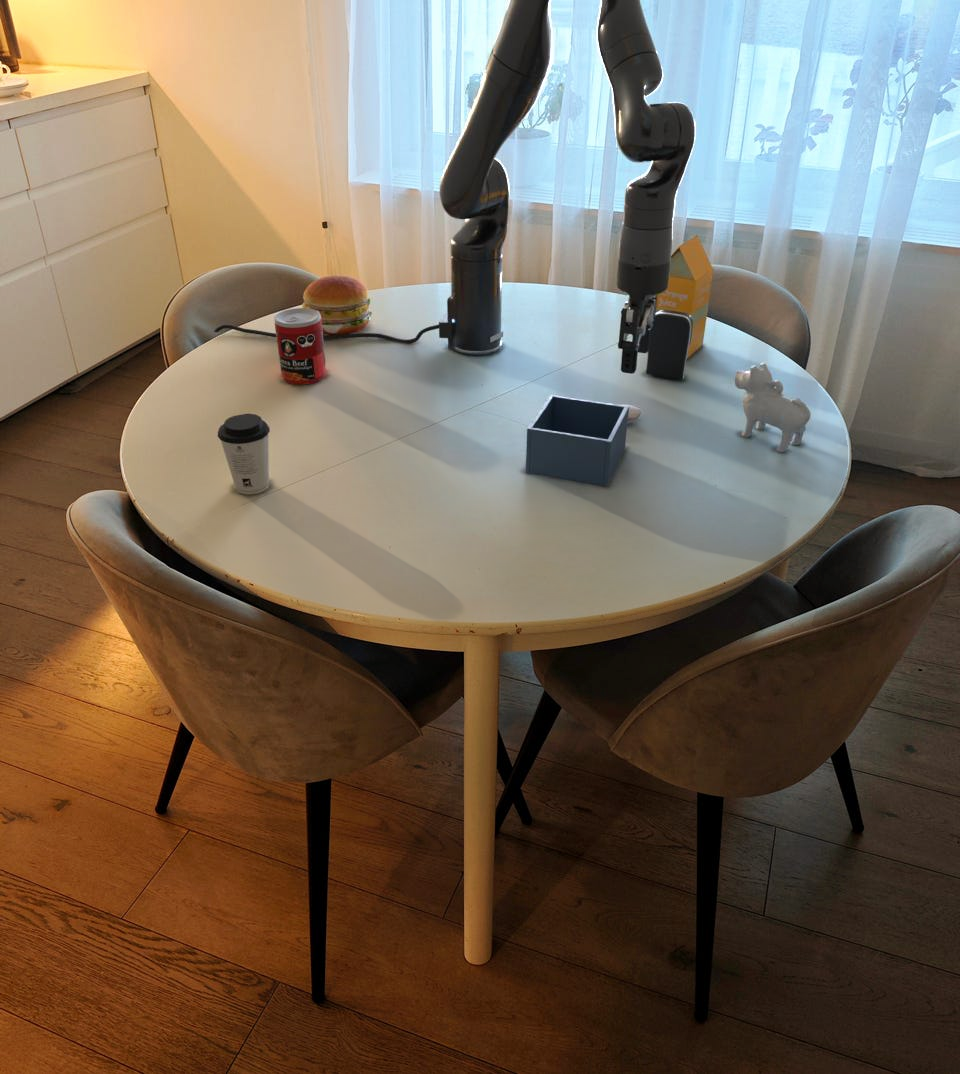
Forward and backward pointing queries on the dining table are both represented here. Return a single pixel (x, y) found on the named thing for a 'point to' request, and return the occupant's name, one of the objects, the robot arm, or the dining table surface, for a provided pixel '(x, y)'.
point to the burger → (339, 304)
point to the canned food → (300, 345)
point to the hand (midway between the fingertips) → (634, 361)
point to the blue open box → (577, 439)
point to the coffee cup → (246, 452)
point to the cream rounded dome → (633, 413)
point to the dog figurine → (771, 406)
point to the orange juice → (689, 288)
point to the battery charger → (669, 344)
